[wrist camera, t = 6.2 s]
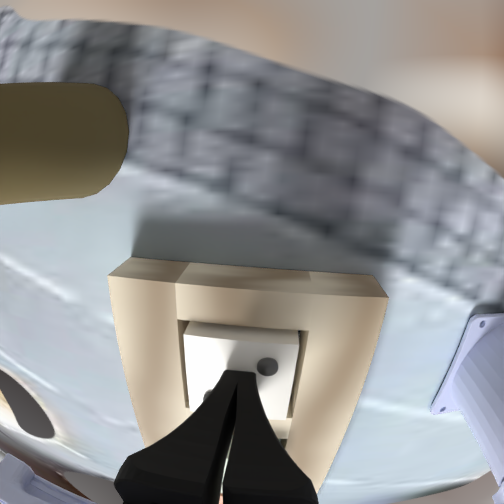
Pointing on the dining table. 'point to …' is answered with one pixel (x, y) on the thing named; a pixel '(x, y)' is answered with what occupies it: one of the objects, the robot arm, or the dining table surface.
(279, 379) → the two dot key
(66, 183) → the cork
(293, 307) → the wooden puzzle board
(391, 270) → the dining table surface
